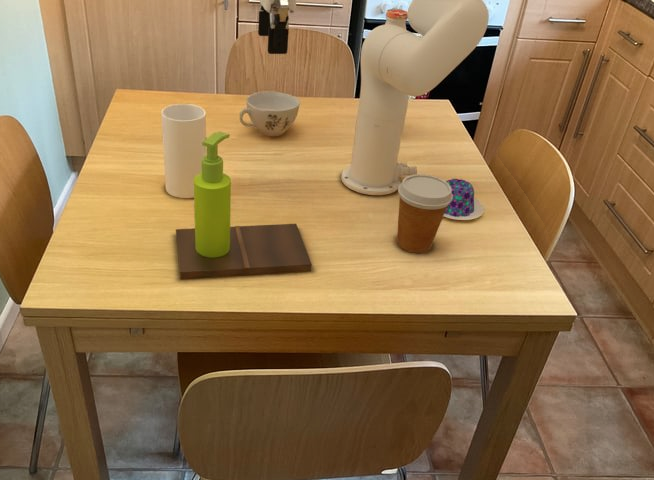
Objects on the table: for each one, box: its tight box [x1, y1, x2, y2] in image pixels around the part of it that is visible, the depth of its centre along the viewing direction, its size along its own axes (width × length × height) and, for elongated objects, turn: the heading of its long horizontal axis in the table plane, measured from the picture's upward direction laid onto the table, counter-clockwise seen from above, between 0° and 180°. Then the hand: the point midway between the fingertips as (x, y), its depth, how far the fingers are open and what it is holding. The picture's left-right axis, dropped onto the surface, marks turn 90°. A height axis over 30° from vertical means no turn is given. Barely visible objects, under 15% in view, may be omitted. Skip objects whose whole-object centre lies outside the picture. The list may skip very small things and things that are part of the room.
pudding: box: [443, 178, 485, 221], centre depth 126 cm, size 12×12×5 cm
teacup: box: [238, 90, 301, 137], centre depth 148 cm, size 15×12×8 cm
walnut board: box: [175, 223, 313, 280], centre depth 109 cm, size 22×13×2 cm, turn 101°
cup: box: [160, 103, 207, 199], centre depth 122 cm, size 8×8×16 cm
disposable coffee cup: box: [396, 173, 453, 254], centre depth 112 cm, size 10×10×12 cm
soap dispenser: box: [193, 131, 232, 258], centre depth 102 cm, size 6×7×20 cm
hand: (272, 44), depth 106 cm, fingers open, 9 cm apart
